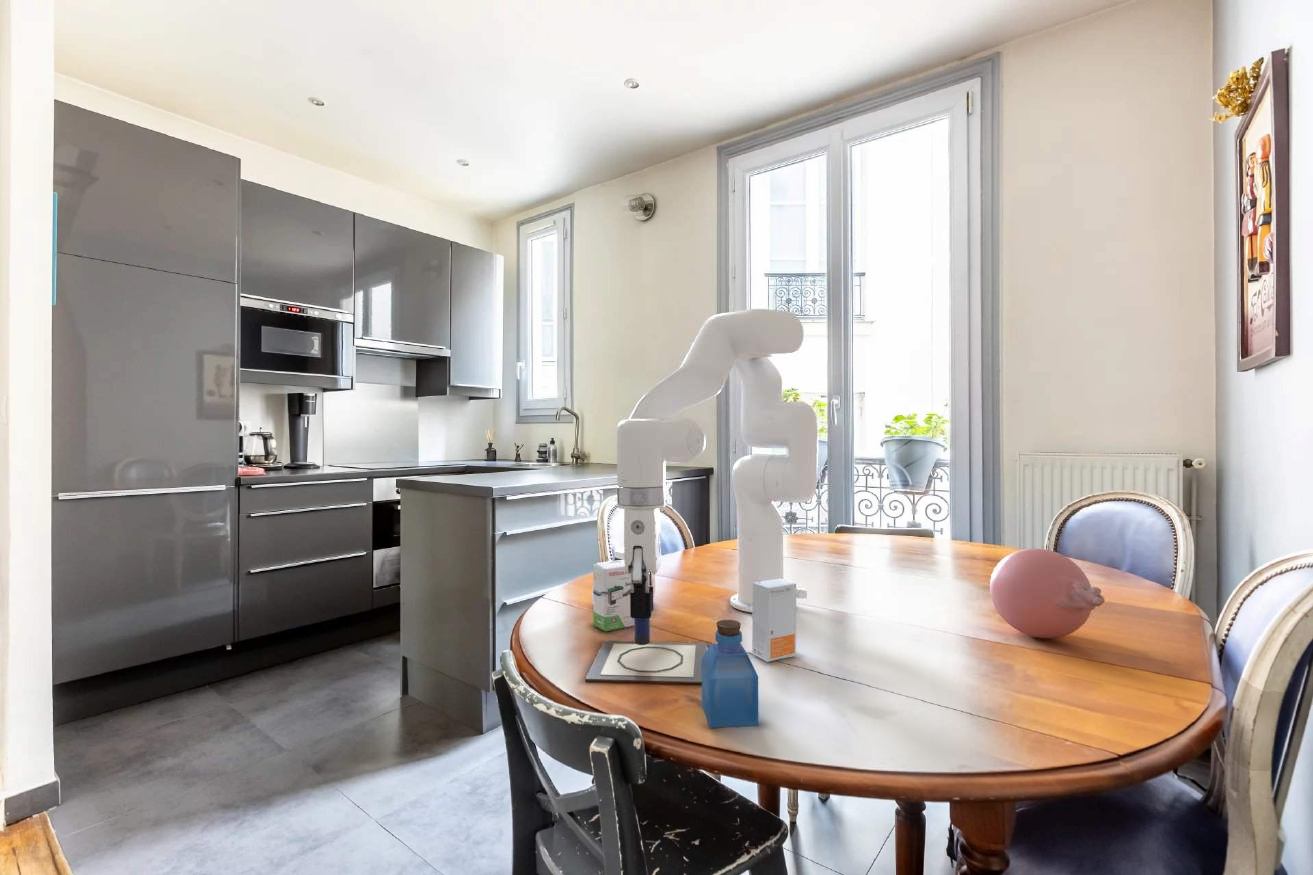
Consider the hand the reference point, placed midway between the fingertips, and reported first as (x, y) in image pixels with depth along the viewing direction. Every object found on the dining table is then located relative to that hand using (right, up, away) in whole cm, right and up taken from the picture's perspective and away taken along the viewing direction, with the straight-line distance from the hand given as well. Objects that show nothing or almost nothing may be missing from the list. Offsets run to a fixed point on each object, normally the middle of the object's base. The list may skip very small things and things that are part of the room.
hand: (642, 613), depth 95 cm
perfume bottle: (+12, -9, -16) cm, 22 cm away
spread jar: (-5, -8, +33) cm, 34 cm away
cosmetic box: (+22, -8, +4) cm, 24 cm away
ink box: (-5, -8, +21) cm, 23 cm away
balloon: (+70, -8, +10) cm, 71 cm away
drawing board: (+1, -8, +2) cm, 9 cm away
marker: (0, -5, 0) cm, 5 cm away
